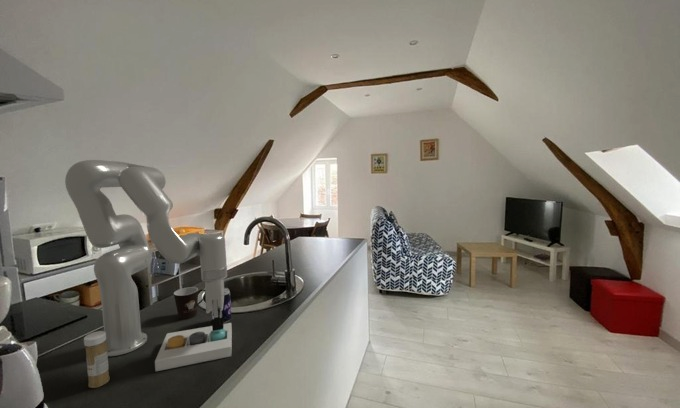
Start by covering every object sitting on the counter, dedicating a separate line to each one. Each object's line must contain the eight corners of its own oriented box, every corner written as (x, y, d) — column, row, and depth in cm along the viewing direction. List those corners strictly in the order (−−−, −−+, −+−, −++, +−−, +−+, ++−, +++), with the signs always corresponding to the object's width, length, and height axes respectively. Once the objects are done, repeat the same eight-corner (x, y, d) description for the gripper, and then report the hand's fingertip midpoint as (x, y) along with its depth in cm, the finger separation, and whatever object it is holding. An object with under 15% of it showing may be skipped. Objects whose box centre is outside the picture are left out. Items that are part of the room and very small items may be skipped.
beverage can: (226, 325, 109) (224, 293, 108) (212, 323, 111) (210, 292, 109) (234, 318, 115) (232, 287, 114) (221, 316, 116) (219, 287, 115)
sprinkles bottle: (85, 385, 79) (80, 336, 77) (106, 375, 83) (101, 328, 81) (92, 391, 76) (87, 341, 75) (113, 380, 80) (109, 333, 79)
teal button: (210, 344, 93) (209, 336, 93) (211, 337, 98) (210, 329, 97) (225, 341, 95) (224, 333, 95) (225, 334, 99) (225, 327, 99)
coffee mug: (174, 322, 112) (172, 297, 111) (176, 313, 120) (174, 289, 119) (208, 316, 117) (206, 291, 116) (208, 307, 124) (206, 284, 124)
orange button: (166, 352, 90) (166, 344, 89) (169, 344, 94) (169, 336, 93) (183, 349, 91) (182, 341, 91) (185, 341, 95) (184, 334, 95)
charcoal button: (188, 348, 92) (188, 340, 91) (190, 340, 96) (190, 333, 95) (204, 345, 93) (204, 337, 93) (205, 337, 97) (205, 330, 97)
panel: (155, 371, 84) (154, 361, 83) (167, 342, 99) (167, 333, 98) (231, 356, 90) (230, 346, 90) (231, 330, 105) (231, 322, 105)
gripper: (203, 268, 100) (207, 320, 102) (198, 282, 86) (203, 343, 88) (227, 265, 103) (230, 316, 104) (226, 279, 88) (230, 338, 90)
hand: (218, 328), depth 96 cm, fingers closed
